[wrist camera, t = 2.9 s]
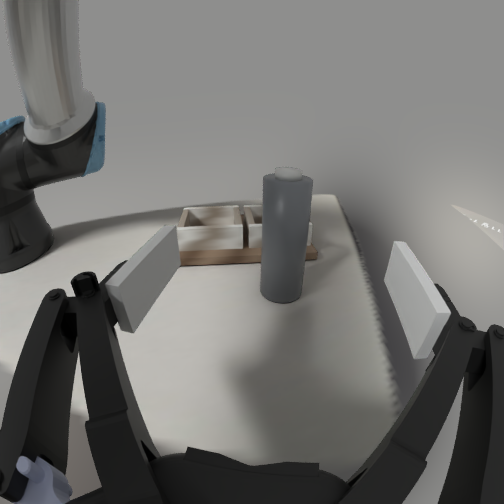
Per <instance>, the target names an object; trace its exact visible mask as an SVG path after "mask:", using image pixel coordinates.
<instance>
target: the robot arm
mask: <svg viewBox="0 0 504 504" xmlns="http://www.w3.org/2000/svg"><path fill="white" fill-rule="evenodd" d="M2 1H3V11H4V20H5V27H6V33H7V38H8V44H9V49H10V53H11V58H12V62H13V66H14V70H15V74H16V77H17V81H18V84H19V88H20V91H21V94H22V97H23V100H24V104H25V106H26V109H27V112H28V115H27V117H26V119H25V118H24V117H23V116H17V117H13V118H10V119H8V120H6V121H3V122H0V273H3V272H8V271H11V270H14V269H17V268H19V267H22V266H24V265H26V264H28V263H30V262H31V261H33V260H35V259H36V258H38V257H39V256H40V255H42V254H43V253H44V252H45V251H46V250H47V249H48V248H49V247H50V246H51V245H52V243H53V241H54V237H53V234H52V230H51V227H50V225H49V224H48V223H47V222H46V220H45V218H44V216H43V214H42V212H41V210H40V209H39V207H38V205H37V203H36V200H35V195H34V191H33V189H34V188H37V187H40V186H44V185H47V184H51V183H55V182H59V181H63V180H67V179H72V178H76V177H80V176H81V177H84V176H85V175H86V174H90V173H94V172H97V171H99V170H100V169H101V168H102V167H103V164H104V158H105V112H106V110H105V104H104V103H99V102H95V99H94V96H93V94H92V93H91V92H90V91H88V90H87V89H84V88H83V83H82V74H81V64H80V51H79V27H78V26H79V24H78V10H79V0H2ZM180 265H181V261H180V254H179V246H178V238H177V229H176V225H164V226H163V227H162V228H161V229H160V230H159V231H158V232H157V233H156V234H155V235H154V236H153V237H152V238H151V239H150V240H148V241H147V242H146V243H145V244H144V245H143V246H142V247H141V248H140V249H139V250H138V251H137V252H136V253H135V254H134V255H133V256H132V257H131V258H130V259H129V260H125V261H124V262H122V263H120V264H118V265H117V266H116V267H115V268H114V269H113V271H111V272H110V273H109V275H107V276H106V277H105V278H104V279H103V280H102V281H101V282H100V283H99V284H98V280H97V277H96V275H95V273H93V272H83V273H80V274H78V275H76V276H75V277H74V278H73V279H72V280H71V285H72V288H73V290H74V293H75V296H76V297H67V296H66V293H65V291H64V290H63V289H53V290H52V291H49V292H48V293H47V294H46V295H45V297H44V298H43V300H42V303H41V305H40V307H39V309H38V311H37V314H36V316H35V318H34V321H33V323H32V326H31V328H30V331H29V333H28V336H27V338H26V341H25V344H24V346H23V349H22V352H21V355H20V358H19V361H18V364H17V367H16V370H15V373H14V377H13V380H12V384H11V387H10V391H9V395H8V399H7V403H6V408H5V412H4V417H3V422H2V427H1V430H0V496H1V497H3V498H5V499H7V500H8V501H10V502H12V503H14V504H402V503H403V501H404V500H405V498H406V497H407V495H408V494H409V493H410V491H411V490H412V488H413V487H414V485H415V484H416V482H417V481H418V479H419V478H420V476H421V474H422V473H423V471H424V469H425V467H426V465H427V461H425V459H426V457H427V455H428V453H429V451H430V449H431V448H432V446H433V444H434V442H435V440H436V438H437V436H438V435H439V432H440V430H441V429H442V426H443V424H444V422H445V420H446V418H447V416H448V414H449V411H450V409H451V407H452V404H453V402H454V399H455V397H456V395H457V392H458V390H459V387H460V384H461V382H462V379H463V376H464V382H463V395H462V403H461V411H460V417H459V424H458V430H457V435H456V440H455V445H454V449H453V454H452V458H451V462H450V466H449V469H448V473H447V476H446V480H445V483H444V486H443V489H442V492H441V495H440V498H439V501H438V504H504V328H503V327H501V326H498V325H495V324H494V325H491V326H490V327H489V329H488V331H487V332H483V331H478V330H477V328H476V326H475V324H474V323H473V322H472V321H471V320H469V319H468V318H465V317H461V316H460V315H459V313H458V311H457V310H456V308H455V306H454V305H453V303H452V302H451V300H450V298H449V297H448V295H447V294H446V292H445V290H444V289H443V288H442V287H441V286H439V285H438V284H433V282H432V280H431V279H430V277H429V276H428V274H427V273H426V271H425V270H424V268H423V267H422V266H421V264H420V262H419V261H418V259H417V258H416V257H415V255H414V254H413V252H412V251H411V250H410V248H409V247H408V245H407V244H406V243H405V242H400V241H394V244H393V248H392V252H391V256H390V260H389V264H388V268H387V271H386V275H385V279H384V281H385V284H386V286H387V288H388V291H389V293H390V296H391V298H392V300H393V303H394V305H395V308H396V311H397V313H398V316H399V318H400V321H401V324H402V326H403V329H404V332H405V335H406V337H407V339H408V343H409V346H410V349H411V352H412V355H413V358H414V359H424V358H427V357H428V356H429V354H430V353H431V351H432V349H433V352H434V354H435V356H434V358H433V360H432V361H431V363H430V365H429V366H428V368H427V369H426V373H425V375H424V376H423V378H422V380H421V382H420V384H419V385H418V387H417V389H416V391H415V392H414V394H413V396H412V397H411V399H410V400H409V402H408V404H407V405H406V407H405V408H404V410H403V411H402V413H401V415H400V416H399V418H398V419H397V421H396V422H395V423H394V425H393V426H392V428H391V429H390V431H389V432H388V433H387V435H386V436H385V437H384V439H383V440H382V441H381V443H380V444H379V445H378V447H377V448H376V449H375V450H374V452H373V453H372V454H371V455H370V457H369V458H368V459H367V460H366V462H365V463H364V464H363V465H362V466H361V467H360V468H359V470H358V471H357V472H356V473H355V474H354V475H353V476H352V477H351V478H350V479H349V480H348V481H347V482H344V481H343V480H342V479H340V478H339V477H337V476H335V475H333V474H331V473H329V472H326V471H323V470H319V463H300V462H282V463H275V464H267V465H258V466H250V465H246V464H244V463H241V462H239V461H236V460H233V459H231V458H228V457H226V456H224V455H221V454H219V453H214V452H209V451H205V450H200V449H196V448H191V447H187V451H186V453H176V454H170V455H165V456H162V457H161V456H160V454H159V452H158V451H157V449H156V447H155V446H154V444H153V442H152V440H151V437H150V435H149V432H148V430H147V428H146V425H145V423H144V420H143V417H142V415H141V412H140V410H139V407H138V404H137V401H136V398H135V396H134V393H133V390H132V387H131V384H130V381H129V377H128V374H127V371H126V368H125V364H124V361H123V357H122V354H121V350H120V346H119V342H118V338H117V334H116V331H115V328H114V326H115V324H116V323H117V322H118V324H119V326H120V329H121V330H122V331H126V332H130V333H134V332H135V331H136V329H137V328H138V326H139V325H140V323H141V322H142V320H143V319H144V317H145V316H146V314H147V313H148V311H149V310H150V308H151V307H152V305H153V304H154V302H155V301H156V299H157V298H158V297H159V295H160V294H161V292H162V291H163V289H164V288H165V286H166V285H167V284H168V282H169V281H170V279H171V278H172V277H173V275H174V274H175V272H176V271H177V269H178V268H179V267H180ZM78 353H79V356H80V365H81V373H82V380H83V386H84V393H85V398H86V404H87V409H88V414H89V421H86V422H85V428H86V433H87V437H88V441H89V445H90V449H91V453H92V457H93V460H94V463H95V467H96V470H97V473H98V476H99V479H100V482H101V485H102V487H101V488H98V489H97V490H94V491H92V492H90V493H87V494H85V495H83V496H80V497H78V498H75V499H73V500H70V496H71V495H72V488H71V486H70V485H69V484H68V480H67V478H66V476H65V474H66V467H67V457H68V435H69V434H68V433H69V419H70V408H71V399H72V390H73V383H74V376H75V370H76V364H77V358H78Z"/></svg>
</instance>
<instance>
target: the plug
mask: <svg viewBox="0 0 504 504" xmlns="http://www.w3.org/2000/svg"><path fill="white" fill-rule="evenodd" d="M312 187H313V180H312V179H311V178H309V177H307V176H303V175H302V170H301V169H298V168H292V167H279V168H275V173H274V174H268V175H265V176H264V177H263V210H262V248H261V282H260V292H261V294H262V295H263V296H264V297H265V298H266V299H268V300H270V301H273V302H277V303H288V302H292V301H294V300H296V299H297V298H299V296H300V295H301V290H302V282H303V274H304V266H305V258H306V249H307V240H308V231H309V221H310V210H311V199H312Z"/></svg>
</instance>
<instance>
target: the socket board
mask: <svg viewBox="0 0 504 504" xmlns="http://www.w3.org/2000/svg"><path fill="white" fill-rule="evenodd" d="M262 210H263V205H244V215H240V210H239V205H234V206H209V207H189V208H184V210H183V212H182V215H181V218H180V221H179V224H178V227H177V237H178V246H179V254H180V261H181V265H180V266H184V265H208V264H230V263H251V262H261V248H262ZM312 229H313V224H312V223H311V222H310V221H309V231H308V240H307V249H306V258H305V260H310V259H317V254H318V252H317V250H316V249H315V247H314V246H313V244H312V243H311V238H312Z"/></svg>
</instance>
